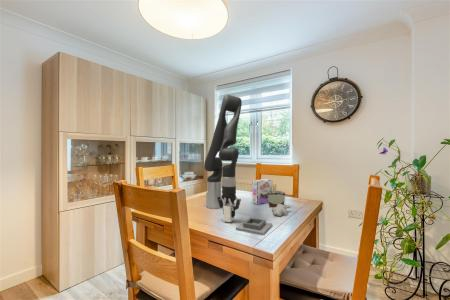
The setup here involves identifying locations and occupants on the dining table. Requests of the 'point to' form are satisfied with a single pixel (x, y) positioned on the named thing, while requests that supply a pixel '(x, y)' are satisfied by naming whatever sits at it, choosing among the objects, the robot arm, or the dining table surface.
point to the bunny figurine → (280, 210)
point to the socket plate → (254, 226)
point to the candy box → (261, 191)
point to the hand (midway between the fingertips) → (229, 216)
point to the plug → (228, 213)
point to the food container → (276, 198)
